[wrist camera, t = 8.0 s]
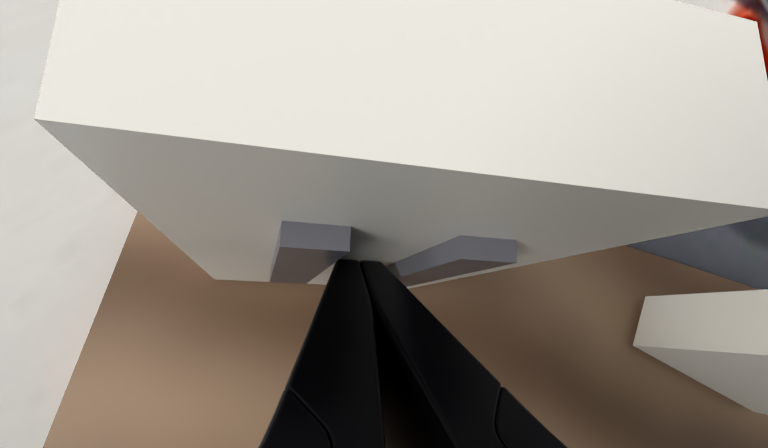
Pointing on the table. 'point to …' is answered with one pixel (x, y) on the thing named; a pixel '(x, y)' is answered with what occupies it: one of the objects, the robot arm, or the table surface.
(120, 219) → the table surface
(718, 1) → the table surface
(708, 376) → the one stripe tile
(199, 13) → the two stripe tile
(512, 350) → the brown wooden board
